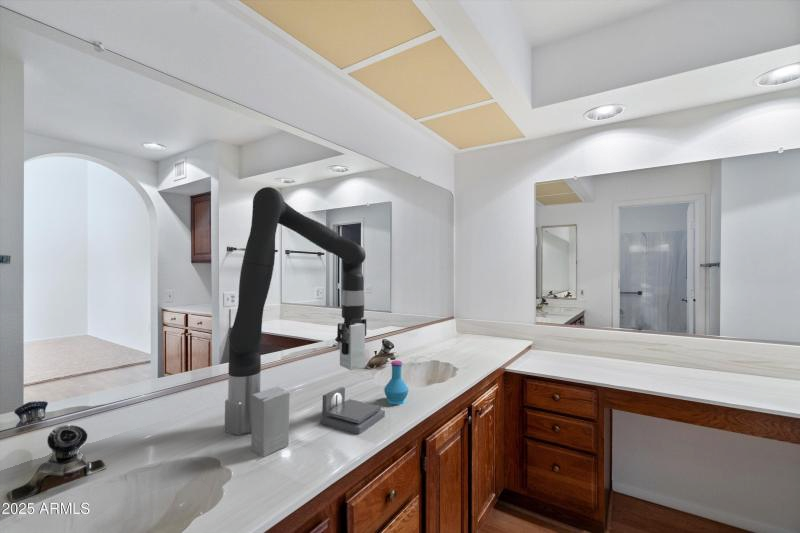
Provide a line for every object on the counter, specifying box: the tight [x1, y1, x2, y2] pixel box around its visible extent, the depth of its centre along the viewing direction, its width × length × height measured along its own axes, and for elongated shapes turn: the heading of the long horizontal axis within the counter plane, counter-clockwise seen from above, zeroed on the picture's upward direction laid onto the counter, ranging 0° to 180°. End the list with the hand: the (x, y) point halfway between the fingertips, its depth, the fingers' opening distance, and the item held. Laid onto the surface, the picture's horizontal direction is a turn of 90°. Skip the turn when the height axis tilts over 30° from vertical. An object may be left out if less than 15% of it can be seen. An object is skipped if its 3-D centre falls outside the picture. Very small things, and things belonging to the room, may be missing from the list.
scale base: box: [320, 386, 386, 435], centre depth 120 cm, size 15×17×8 cm
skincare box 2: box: [339, 322, 366, 371], centre depth 123 cm, size 8×6×15 cm
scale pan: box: [326, 398, 382, 423], centre depth 120 cm, size 13×13×2 cm
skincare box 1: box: [250, 386, 291, 458], centre depth 100 cm, size 8×7×16 cm
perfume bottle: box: [383, 360, 409, 406], centre depth 138 cm, size 9×9×15 cm
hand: (352, 351), depth 123 cm, fingers closed on skincare box 2, 7 cm apart
